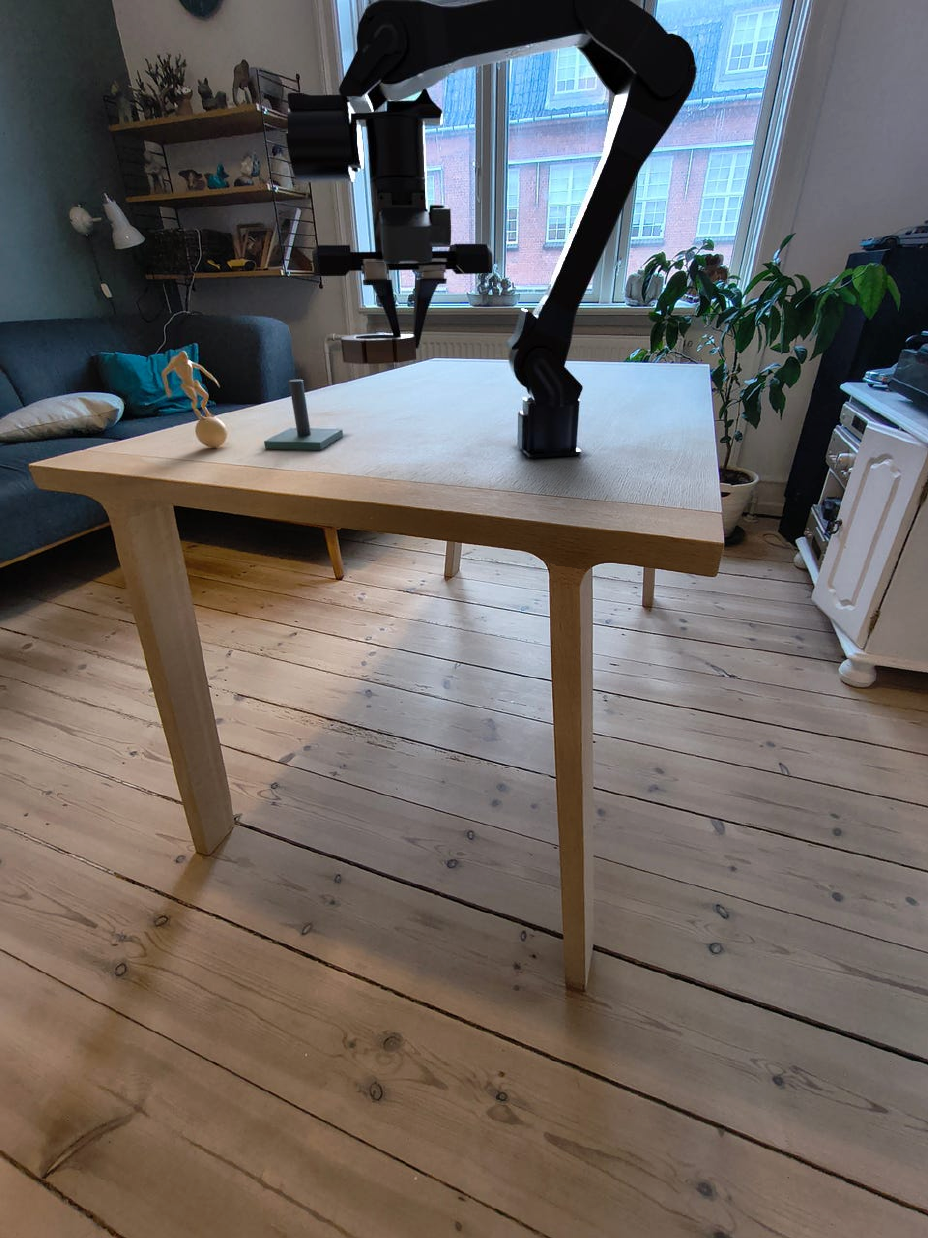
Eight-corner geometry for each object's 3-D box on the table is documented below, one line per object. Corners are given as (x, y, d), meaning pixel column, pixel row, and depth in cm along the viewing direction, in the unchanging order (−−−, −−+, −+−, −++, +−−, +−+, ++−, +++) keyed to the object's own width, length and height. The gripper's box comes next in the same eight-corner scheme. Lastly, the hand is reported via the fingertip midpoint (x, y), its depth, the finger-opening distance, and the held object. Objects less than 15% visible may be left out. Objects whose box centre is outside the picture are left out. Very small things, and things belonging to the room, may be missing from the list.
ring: (412, 354, 72) (411, 332, 71) (418, 362, 65) (417, 338, 64) (344, 356, 71) (342, 334, 70) (342, 365, 64) (340, 341, 63)
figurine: (200, 455, 77) (175, 355, 71) (169, 451, 79) (142, 353, 73) (248, 441, 83) (228, 347, 77) (217, 437, 86) (196, 346, 80)
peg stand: (343, 435, 85) (335, 375, 81) (321, 450, 78) (311, 385, 74) (291, 434, 86) (281, 375, 82) (265, 448, 79) (252, 385, 75)
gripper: (298, 167, 52) (322, 360, 60) (505, 168, 55) (502, 353, 62) (306, 184, 62) (325, 348, 69) (482, 185, 64) (482, 343, 72)
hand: (407, 348), depth 68 cm, fingers closed on ring, 1 cm apart
